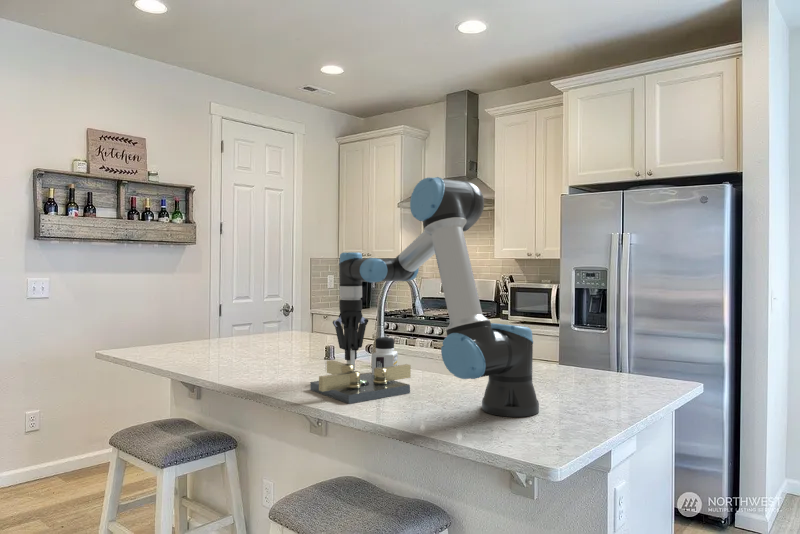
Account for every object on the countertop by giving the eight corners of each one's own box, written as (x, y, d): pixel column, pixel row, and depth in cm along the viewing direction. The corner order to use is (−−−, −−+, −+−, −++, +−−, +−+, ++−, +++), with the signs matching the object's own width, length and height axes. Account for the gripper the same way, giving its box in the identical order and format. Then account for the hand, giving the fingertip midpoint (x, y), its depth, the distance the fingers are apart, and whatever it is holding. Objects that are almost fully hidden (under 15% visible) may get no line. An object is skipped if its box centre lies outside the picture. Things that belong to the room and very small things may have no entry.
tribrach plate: (410, 393, 177) (410, 382, 177) (348, 403, 164) (348, 392, 164) (368, 381, 195) (368, 371, 195) (310, 390, 181) (310, 379, 181)
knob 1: (355, 384, 176) (355, 370, 176) (363, 387, 173) (363, 372, 172) (316, 390, 168) (316, 375, 168) (324, 393, 164) (324, 378, 164)
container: (393, 376, 202) (393, 339, 201) (371, 376, 203) (371, 338, 203) (397, 372, 209) (397, 336, 209) (376, 371, 211) (376, 335, 210)
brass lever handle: (357, 378, 184) (357, 365, 184) (345, 380, 182) (345, 366, 182) (335, 372, 195) (335, 359, 195) (323, 374, 192) (323, 361, 192)
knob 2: (378, 384, 176) (378, 370, 176) (370, 382, 179) (370, 368, 179) (412, 379, 184) (412, 365, 184) (404, 376, 188) (404, 363, 187)
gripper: (360, 297, 200) (360, 366, 201) (327, 299, 192) (327, 370, 193) (373, 298, 194) (373, 369, 195) (340, 300, 186) (340, 373, 187)
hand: (350, 369), depth 194 cm, fingers closed
